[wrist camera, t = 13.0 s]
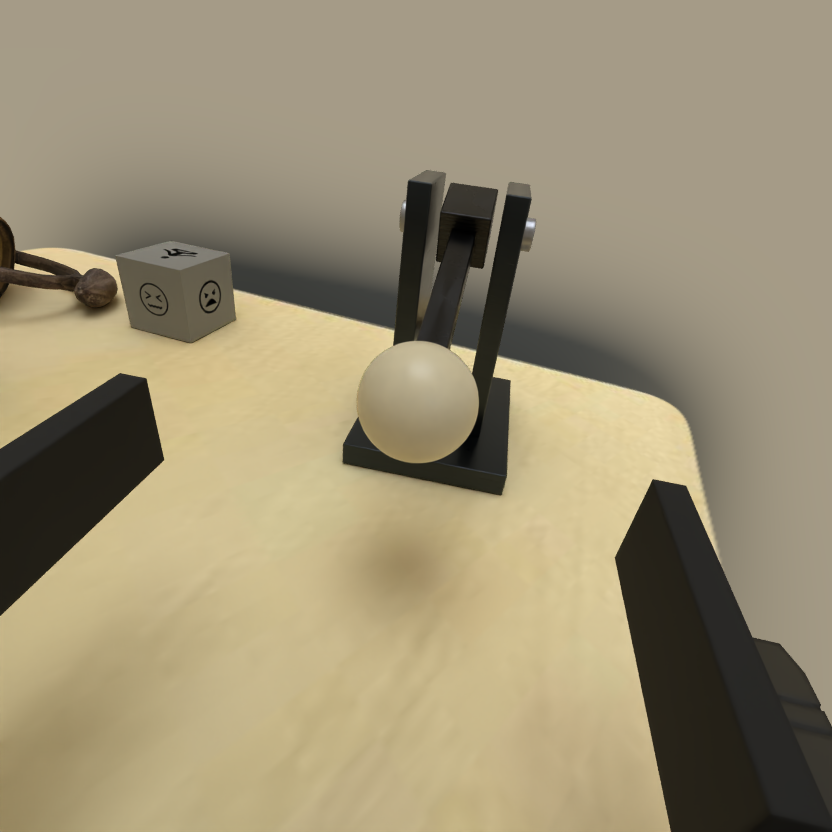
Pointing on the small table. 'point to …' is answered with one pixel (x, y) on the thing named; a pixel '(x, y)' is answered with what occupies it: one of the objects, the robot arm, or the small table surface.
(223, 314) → the dice cube
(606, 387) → the small table surface
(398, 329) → the bracket
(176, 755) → the small table surface
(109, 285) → the brown antique clock
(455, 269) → the lever
